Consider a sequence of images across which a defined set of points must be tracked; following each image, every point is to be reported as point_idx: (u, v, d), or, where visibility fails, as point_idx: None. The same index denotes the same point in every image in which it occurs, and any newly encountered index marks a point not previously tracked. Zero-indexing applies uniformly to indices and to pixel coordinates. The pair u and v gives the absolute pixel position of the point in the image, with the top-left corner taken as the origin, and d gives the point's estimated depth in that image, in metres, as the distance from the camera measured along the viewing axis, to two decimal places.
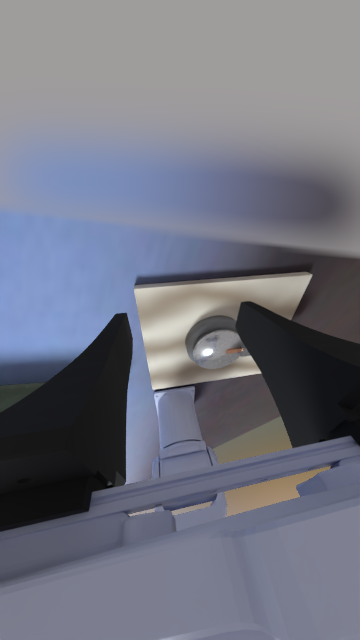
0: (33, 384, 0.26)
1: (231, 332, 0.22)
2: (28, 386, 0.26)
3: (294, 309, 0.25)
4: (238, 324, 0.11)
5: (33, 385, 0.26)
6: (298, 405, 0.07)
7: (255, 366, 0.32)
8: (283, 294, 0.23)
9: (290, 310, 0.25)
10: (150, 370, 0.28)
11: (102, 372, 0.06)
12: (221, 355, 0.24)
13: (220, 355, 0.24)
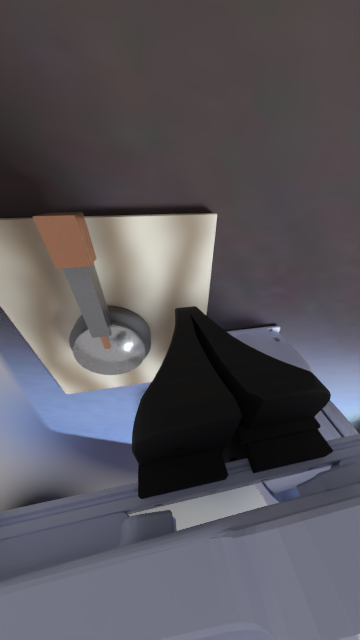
0: None
1: (73, 348, 0.17)
2: None
3: (22, 223, 0.13)
4: None
5: None
6: None
7: (187, 251, 0.16)
8: (4, 264, 0.14)
9: (28, 232, 0.13)
10: None
11: (206, 358, 0.06)
12: (115, 351, 0.18)
13: (116, 351, 0.18)
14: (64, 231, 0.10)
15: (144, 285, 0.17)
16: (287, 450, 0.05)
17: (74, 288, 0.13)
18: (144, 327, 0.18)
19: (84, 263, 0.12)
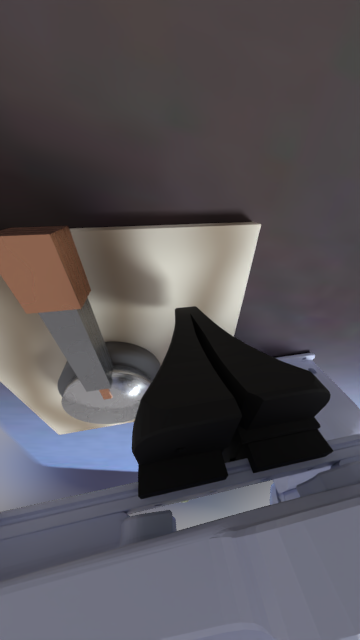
0: None
1: (62, 399, 0.13)
2: None
3: None
4: None
5: None
6: None
7: (215, 273, 0.12)
8: None
9: None
10: None
11: (206, 358, 0.06)
12: (118, 400, 0.14)
13: (119, 400, 0.14)
14: (36, 260, 0.06)
15: (156, 316, 0.13)
16: (287, 450, 0.05)
17: (58, 336, 0.09)
18: (154, 367, 0.14)
19: (71, 305, 0.07)
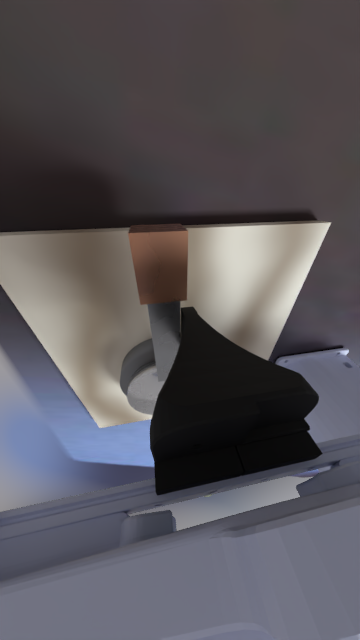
0: None
1: (128, 390, 0.13)
2: None
3: (83, 237, 0.09)
4: (181, 330, 0.11)
5: None
6: None
7: (279, 269, 0.12)
8: (51, 290, 0.10)
9: (89, 249, 0.09)
10: None
11: (218, 356, 0.06)
12: None
13: None
14: (164, 254, 0.07)
15: (217, 310, 0.13)
16: (276, 452, 0.05)
17: (155, 327, 0.09)
18: None
19: (180, 296, 0.08)
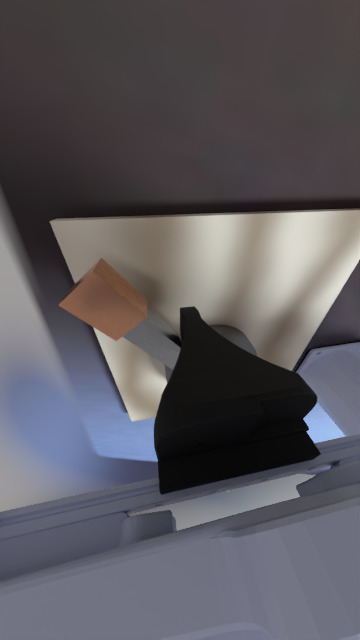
0: None
1: None
2: None
3: (157, 222, 0.09)
4: (180, 330, 0.11)
5: None
6: None
7: (332, 257, 0.12)
8: None
9: (160, 234, 0.10)
10: None
11: (220, 356, 0.06)
12: None
13: None
14: (97, 297, 0.07)
15: (266, 299, 0.14)
16: (274, 453, 0.05)
17: (145, 347, 0.10)
18: (255, 349, 0.15)
19: (138, 317, 0.08)
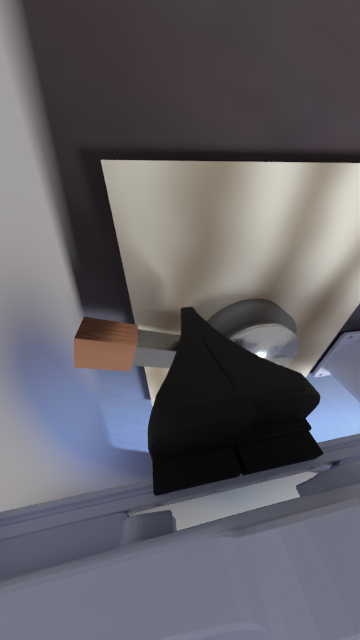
0: None
1: None
2: None
3: (215, 168, 0.08)
4: None
5: None
6: None
7: None
8: (162, 236, 0.10)
9: (216, 184, 0.09)
10: None
11: (216, 356, 0.06)
12: None
13: None
14: (93, 350, 0.09)
15: (311, 270, 0.13)
16: (277, 452, 0.05)
17: (157, 364, 0.11)
18: (295, 327, 0.14)
19: (131, 349, 0.09)
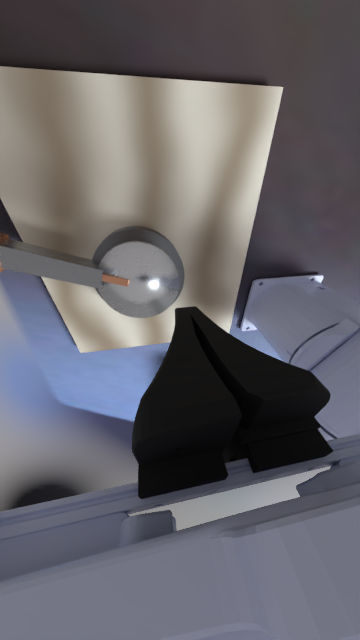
0: None
1: (119, 311, 0.16)
2: None
3: (41, 76, 0.10)
4: None
5: None
6: None
7: (239, 147, 0.13)
8: (16, 147, 0.11)
9: (48, 93, 0.10)
10: None
11: (206, 358, 0.06)
12: (136, 278, 0.15)
13: (138, 278, 0.15)
14: None
15: (182, 197, 0.14)
16: (287, 450, 0.05)
17: (27, 270, 0.12)
18: (179, 255, 0.15)
19: None
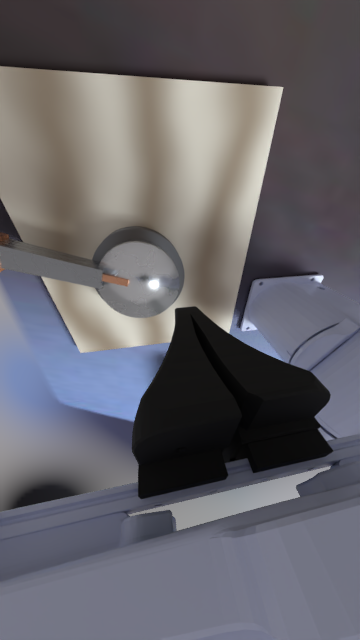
0: None
1: (119, 311, 0.16)
2: None
3: (41, 76, 0.10)
4: None
5: None
6: None
7: (239, 147, 0.13)
8: (16, 147, 0.11)
9: (48, 93, 0.10)
10: None
11: (207, 358, 0.06)
12: (136, 278, 0.15)
13: (138, 278, 0.15)
14: None
15: (182, 197, 0.14)
16: (287, 450, 0.05)
17: (27, 270, 0.12)
18: (179, 255, 0.15)
19: None
